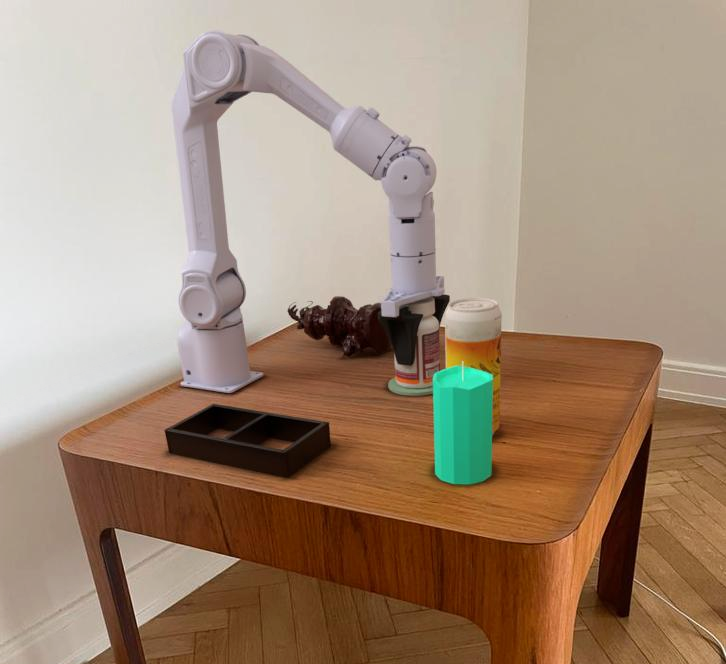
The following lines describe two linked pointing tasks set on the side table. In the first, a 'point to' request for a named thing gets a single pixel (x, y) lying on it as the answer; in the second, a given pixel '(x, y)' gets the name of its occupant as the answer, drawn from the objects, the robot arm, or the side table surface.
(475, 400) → the candle
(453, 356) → the beer can
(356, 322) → the figurine
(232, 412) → the tray
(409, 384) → the pill bottle
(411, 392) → the mat
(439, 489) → the side table surface
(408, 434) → the side table surface
